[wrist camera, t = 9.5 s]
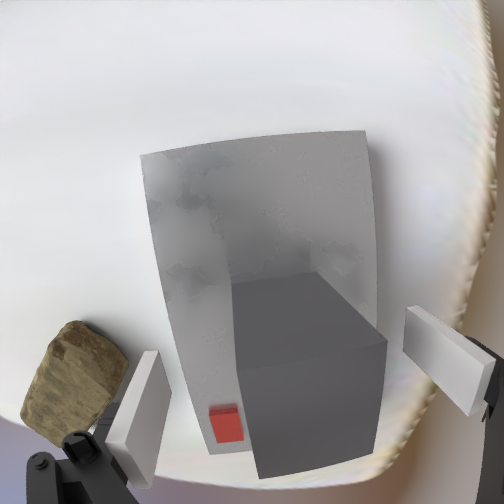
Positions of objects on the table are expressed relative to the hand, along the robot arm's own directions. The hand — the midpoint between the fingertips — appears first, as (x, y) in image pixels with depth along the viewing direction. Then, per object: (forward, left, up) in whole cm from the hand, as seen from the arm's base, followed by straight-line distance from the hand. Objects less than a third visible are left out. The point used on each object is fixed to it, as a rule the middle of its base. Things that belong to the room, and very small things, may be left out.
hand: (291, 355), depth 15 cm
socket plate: (0, 0, -7) cm, 7 cm away
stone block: (+4, -17, -7) cm, 19 cm away
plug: (0, 0, -6) cm, 6 cm away
